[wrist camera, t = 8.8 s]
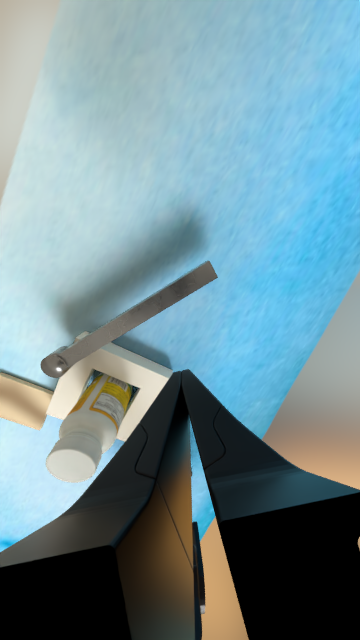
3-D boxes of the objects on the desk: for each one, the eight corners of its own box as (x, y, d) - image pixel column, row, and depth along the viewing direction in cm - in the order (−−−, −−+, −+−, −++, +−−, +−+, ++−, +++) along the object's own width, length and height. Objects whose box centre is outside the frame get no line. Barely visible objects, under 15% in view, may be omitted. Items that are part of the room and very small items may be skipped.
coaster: (42, 427, 24) (39, 430, 24) (-9, 410, 23) (-13, 413, 23) (55, 392, 23) (53, 395, 22) (1, 372, 21) (-3, 374, 21)
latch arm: (66, 368, 19) (53, 381, 17) (51, 353, 18) (35, 364, 16) (214, 279, 16) (220, 281, 14) (203, 257, 16) (207, 256, 14)
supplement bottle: (130, 368, 22) (98, 441, 13) (135, 400, 23) (110, 486, 14) (89, 370, 22) (27, 445, 13) (97, 403, 23) (47, 490, 14)
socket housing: (135, 430, 25) (132, 444, 23) (56, 401, 23) (45, 413, 21) (172, 370, 22) (172, 380, 20) (85, 330, 20) (75, 337, 18)
